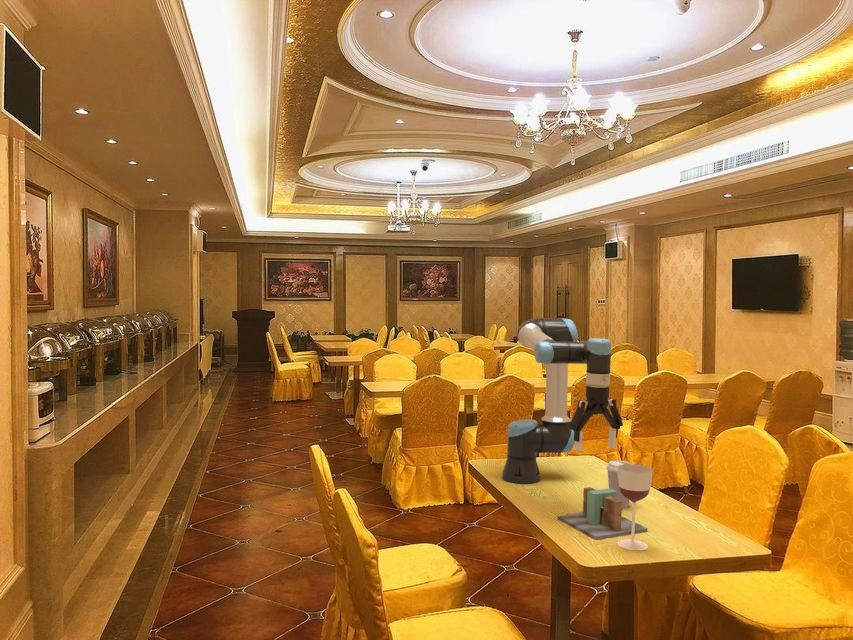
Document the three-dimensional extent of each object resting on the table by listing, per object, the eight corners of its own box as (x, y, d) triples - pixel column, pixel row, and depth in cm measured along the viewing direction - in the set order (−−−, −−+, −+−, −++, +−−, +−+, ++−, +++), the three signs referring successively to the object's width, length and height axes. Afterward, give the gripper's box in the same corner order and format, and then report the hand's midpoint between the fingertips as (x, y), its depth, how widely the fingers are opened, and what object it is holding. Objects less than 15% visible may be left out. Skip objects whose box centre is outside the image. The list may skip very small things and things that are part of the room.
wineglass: (610, 539, 199) (612, 464, 198) (642, 538, 200) (644, 464, 199) (622, 550, 190) (624, 472, 189) (655, 550, 191) (658, 472, 190)
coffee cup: (634, 510, 226) (636, 467, 225) (606, 508, 228) (607, 465, 227) (631, 502, 235) (633, 461, 235) (604, 500, 237) (605, 459, 237)
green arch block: (586, 521, 211) (587, 491, 210) (609, 518, 214) (609, 488, 214) (593, 525, 208) (594, 494, 207) (616, 521, 211) (617, 491, 211)
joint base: (557, 518, 216) (558, 488, 216) (606, 511, 224) (606, 482, 224) (595, 539, 198) (596, 507, 197) (647, 531, 206) (648, 500, 205)
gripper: (573, 389, 206) (571, 455, 208) (635, 385, 216) (632, 448, 218) (559, 385, 213) (557, 449, 215) (620, 382, 223) (617, 443, 225)
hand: (595, 449), depth 216 cm, fingers open, 13 cm apart
